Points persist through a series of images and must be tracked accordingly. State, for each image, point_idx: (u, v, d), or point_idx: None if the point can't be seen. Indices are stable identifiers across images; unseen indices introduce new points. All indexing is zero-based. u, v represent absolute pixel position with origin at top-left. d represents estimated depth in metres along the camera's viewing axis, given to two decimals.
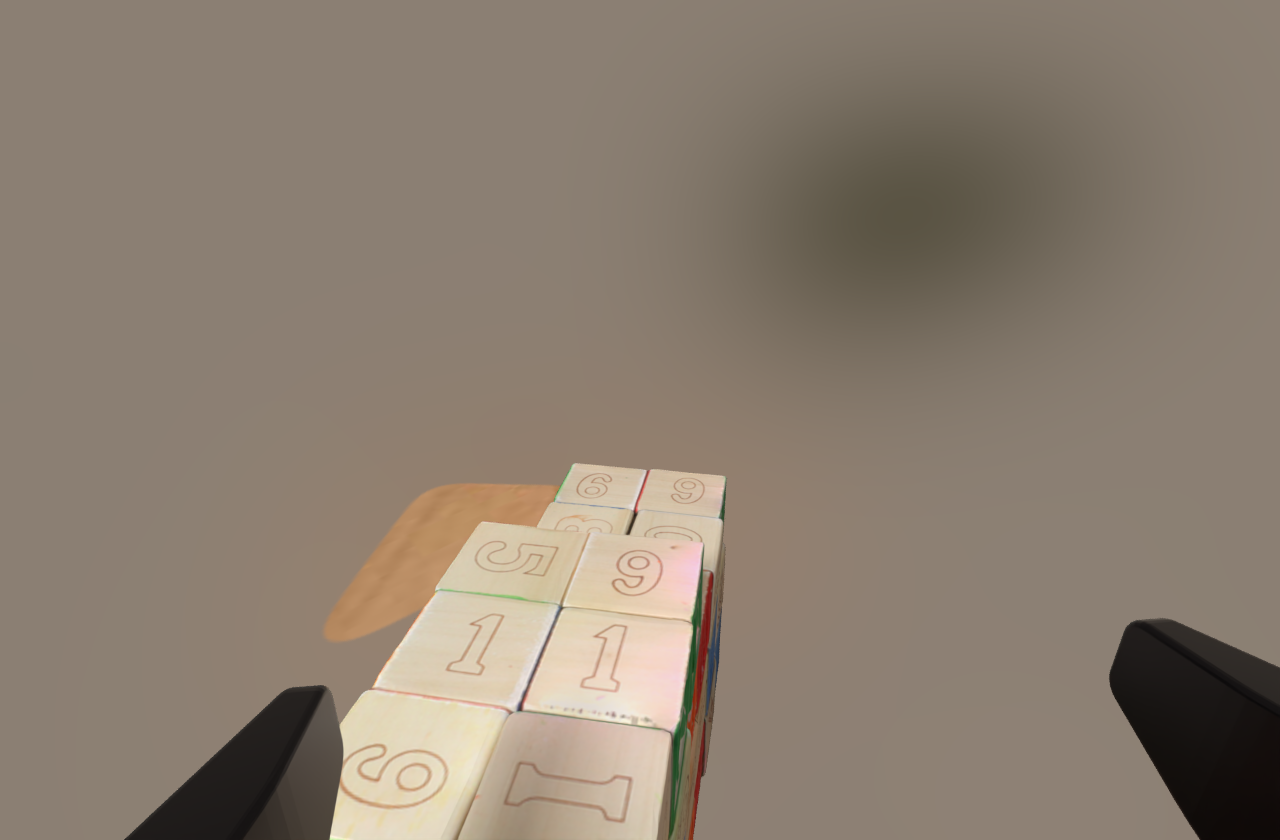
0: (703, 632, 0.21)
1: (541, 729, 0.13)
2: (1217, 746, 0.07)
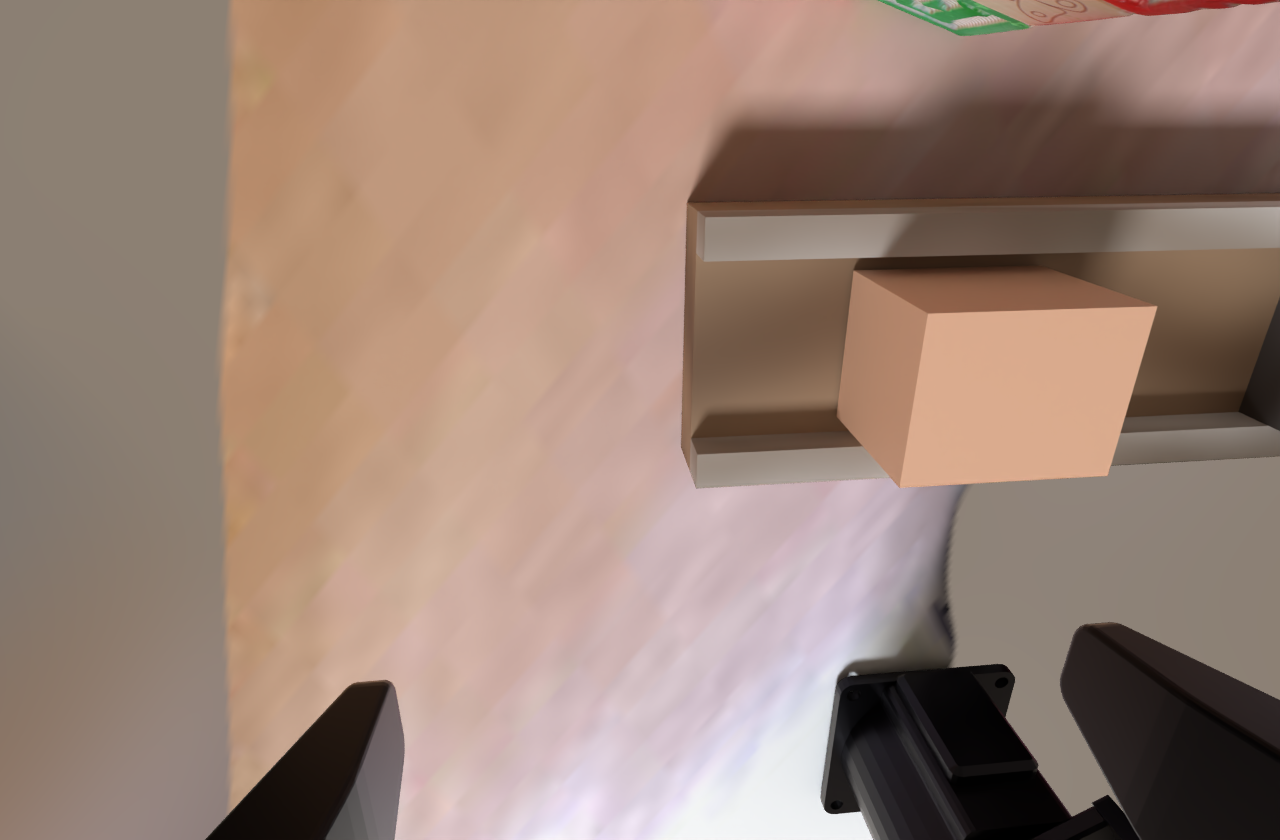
0: None
1: None
2: (1159, 752, 0.07)
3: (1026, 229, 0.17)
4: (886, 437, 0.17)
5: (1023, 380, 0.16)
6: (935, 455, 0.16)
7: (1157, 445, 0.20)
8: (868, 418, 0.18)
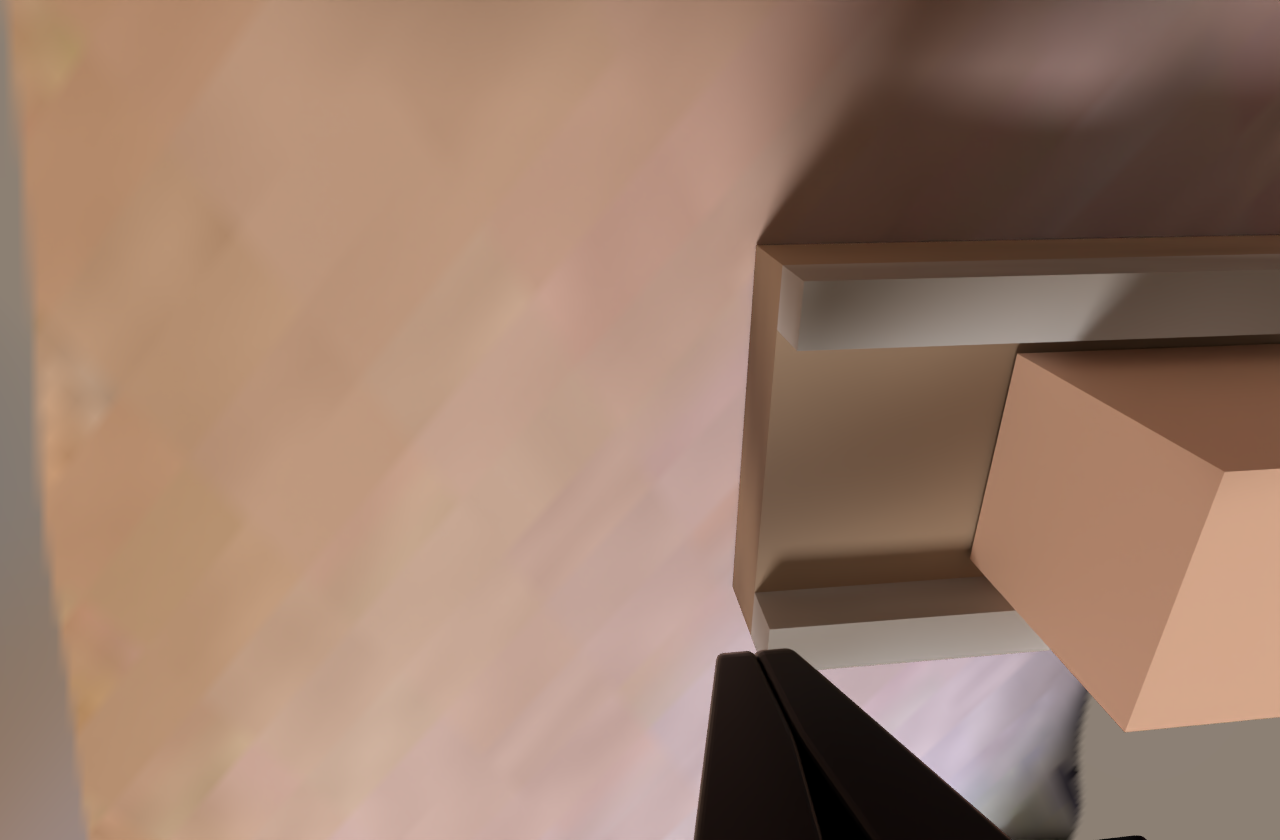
0: None
1: None
2: None
3: None
4: (1092, 637, 0.10)
5: None
6: (1190, 684, 0.10)
7: None
8: (1046, 590, 0.11)
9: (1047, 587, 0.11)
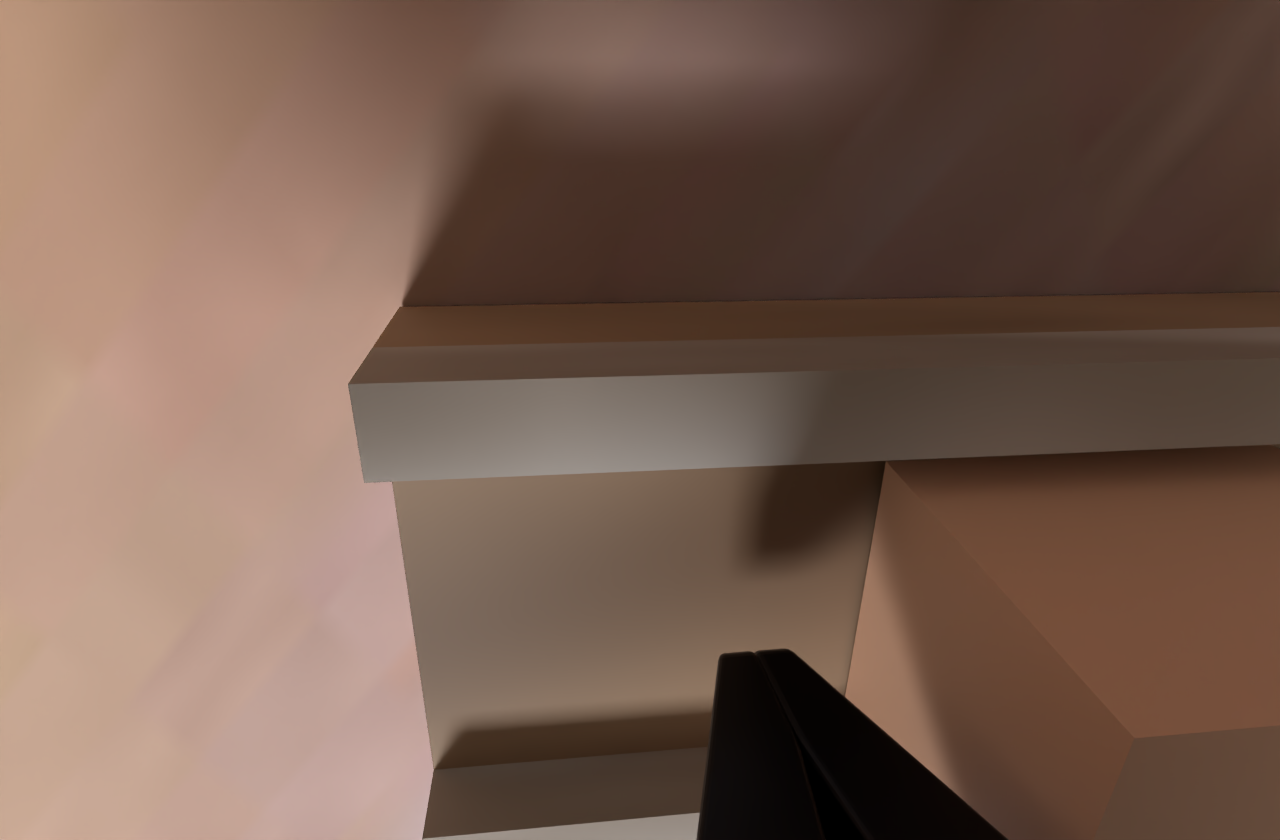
0: None
1: None
2: None
3: (1142, 399, 0.07)
4: None
5: None
6: None
7: None
8: None
9: None
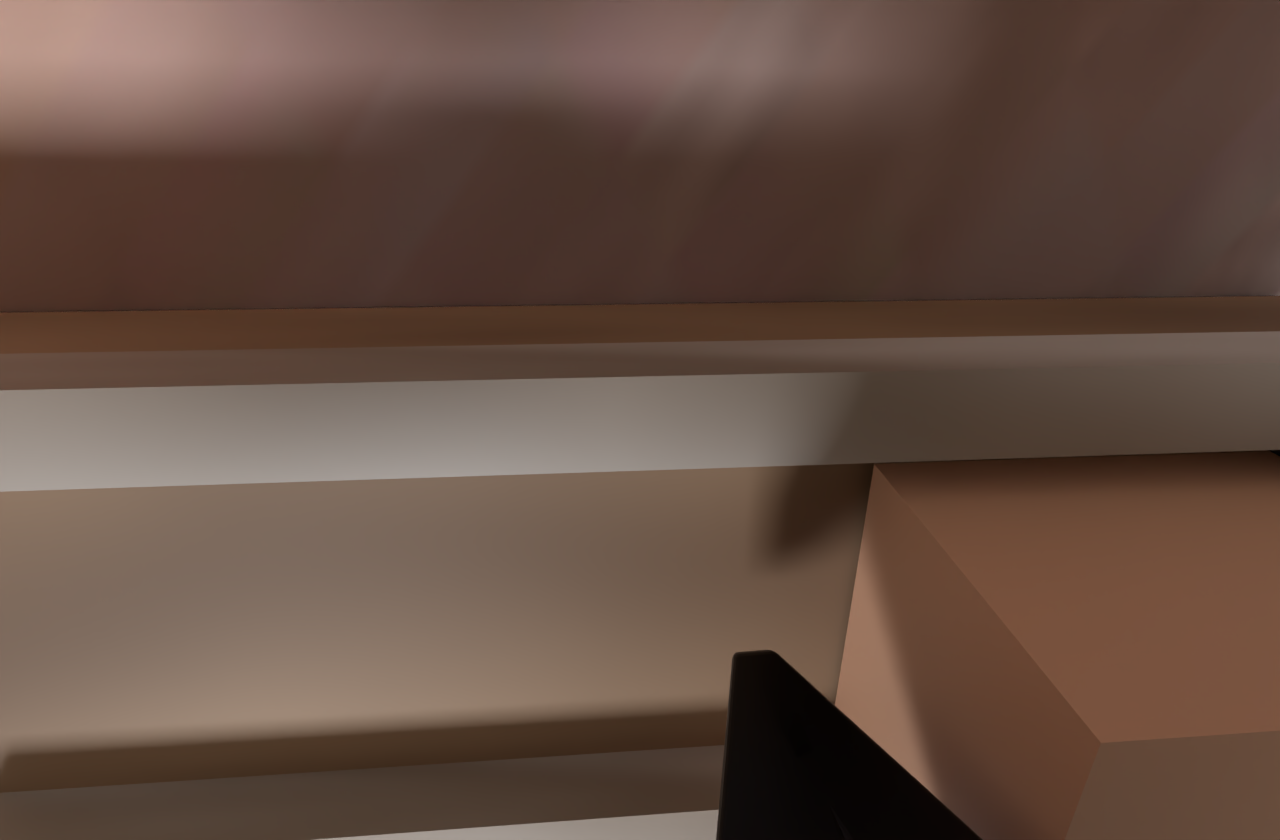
0: None
1: None
2: None
3: (580, 418, 0.07)
4: None
5: None
6: None
7: None
8: None
9: None
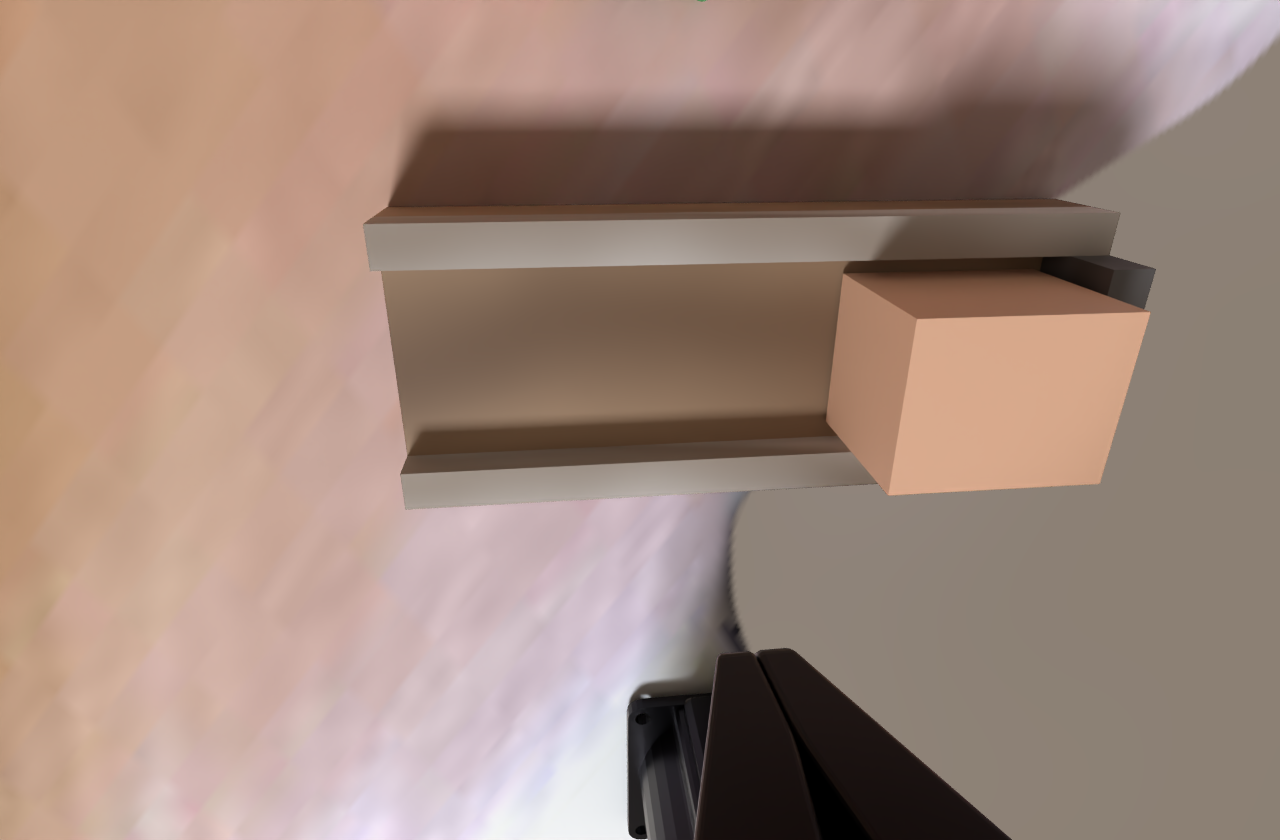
0: None
1: None
2: None
3: (724, 237, 0.16)
4: (875, 444, 0.17)
5: (1014, 386, 0.15)
6: (924, 463, 0.16)
7: None
8: (857, 424, 0.18)
9: (857, 421, 0.17)
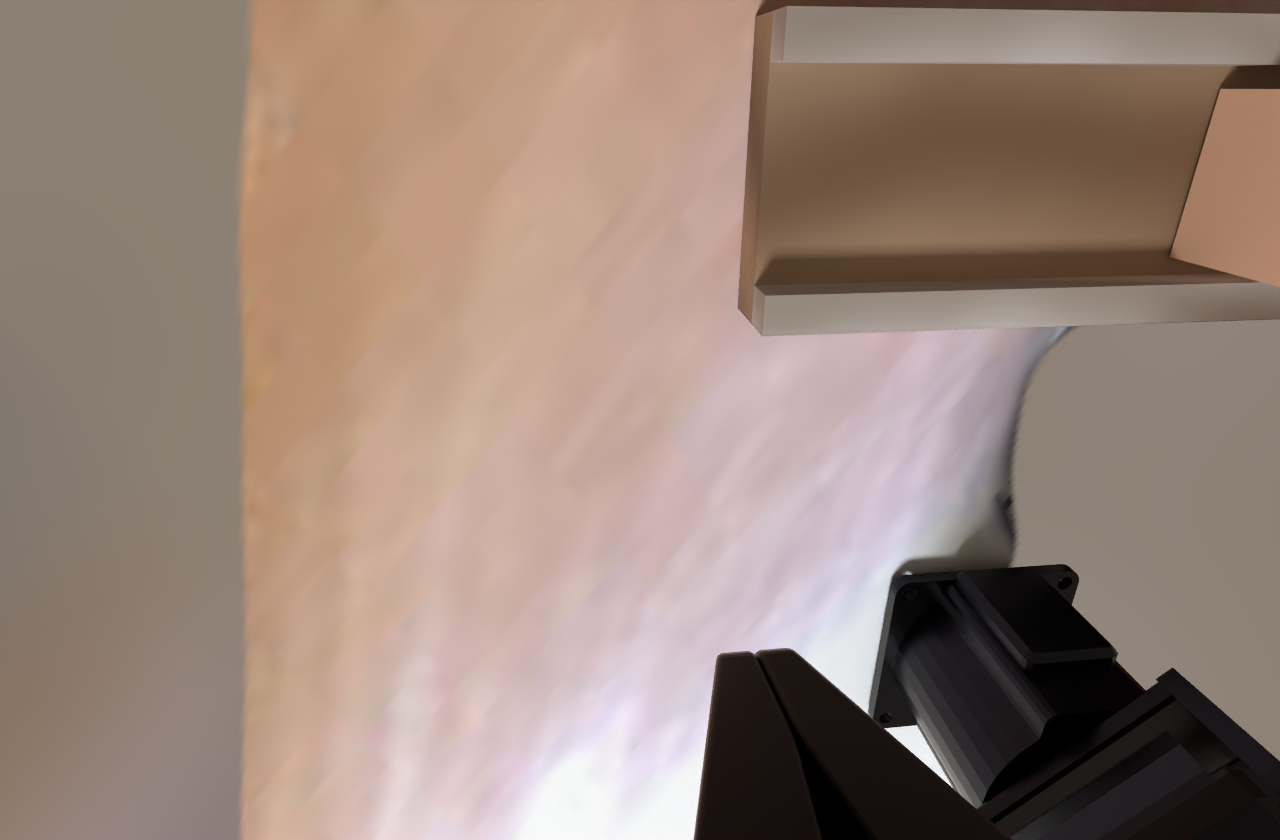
0: None
1: None
2: None
3: (1135, 33, 0.16)
4: None
5: None
6: None
7: (1256, 299, 0.19)
8: (1245, 240, 0.17)
9: (1246, 237, 0.17)
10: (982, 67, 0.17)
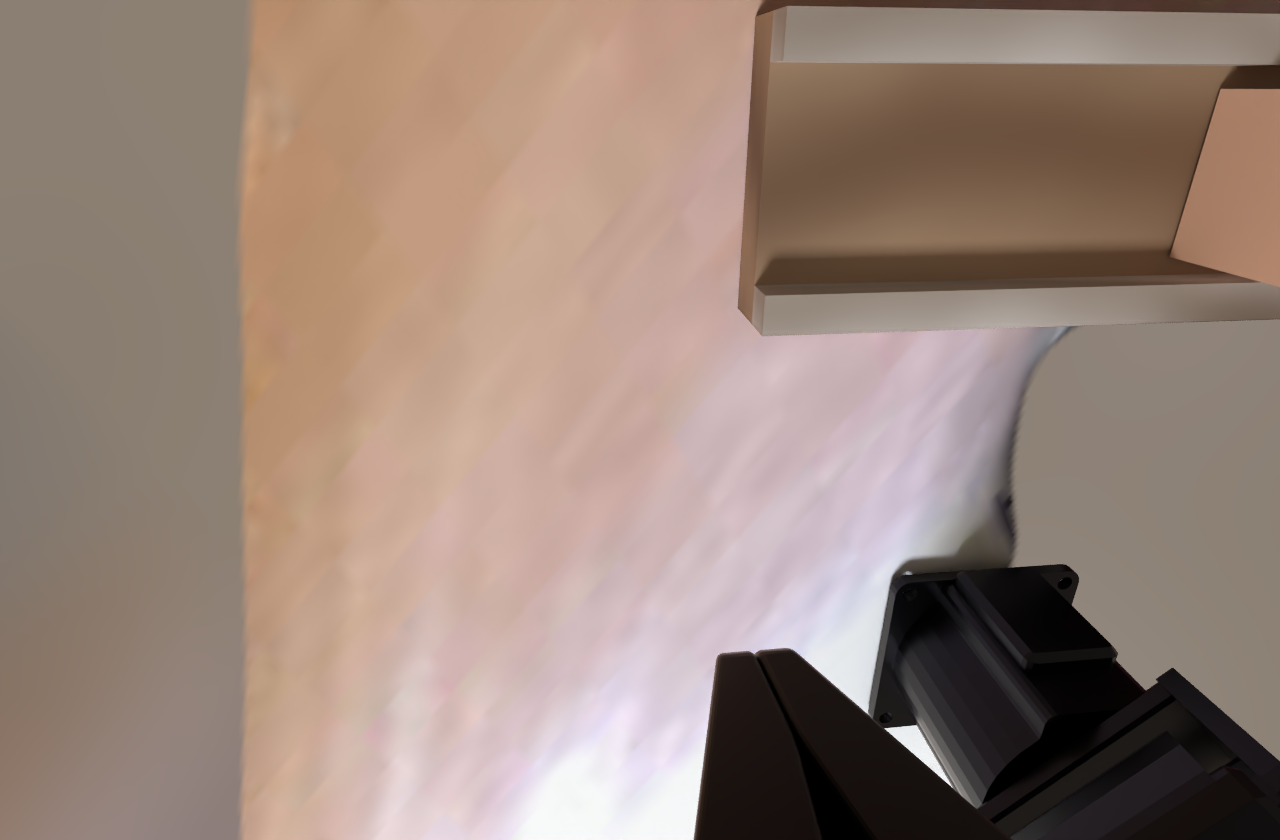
0: None
1: None
2: None
3: (1135, 33, 0.16)
4: None
5: None
6: None
7: (1256, 299, 0.19)
8: (1245, 240, 0.17)
9: (1247, 237, 0.17)
10: (982, 67, 0.17)
